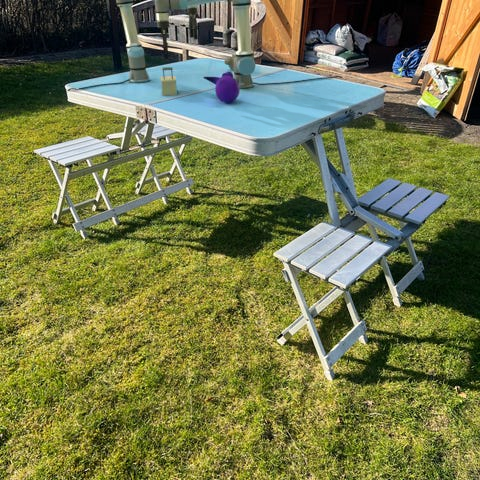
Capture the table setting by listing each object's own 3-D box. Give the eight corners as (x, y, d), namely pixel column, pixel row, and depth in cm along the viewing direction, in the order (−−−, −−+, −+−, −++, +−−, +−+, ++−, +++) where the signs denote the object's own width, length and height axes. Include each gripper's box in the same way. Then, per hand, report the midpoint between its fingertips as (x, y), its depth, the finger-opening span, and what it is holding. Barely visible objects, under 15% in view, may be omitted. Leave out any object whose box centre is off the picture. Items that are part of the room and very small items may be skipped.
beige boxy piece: (175, 81, 292) (174, 67, 288) (161, 81, 291) (159, 68, 287) (175, 77, 304) (174, 64, 300) (161, 77, 303) (159, 65, 298)
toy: (226, 94, 295) (239, 108, 274) (200, 89, 287) (212, 104, 267) (231, 69, 287) (246, 82, 266) (206, 64, 279) (218, 77, 259)
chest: (177, 94, 297) (175, 81, 293) (162, 95, 296) (161, 81, 292) (176, 90, 308) (175, 77, 304) (162, 91, 307) (161, 77, 303)
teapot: (228, 72, 362) (227, 52, 355) (221, 70, 371) (220, 50, 364) (250, 69, 372) (250, 50, 364) (243, 67, 380) (243, 48, 373)
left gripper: (200, 8, 326) (202, 39, 337) (193, 6, 347) (194, 36, 358) (190, 8, 324) (192, 40, 335) (183, 6, 345) (185, 36, 356)
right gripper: (169, 22, 266) (172, 60, 277) (168, 19, 287) (171, 54, 298) (156, 22, 265) (160, 60, 276) (156, 19, 286) (160, 54, 297)
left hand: (193, 38), depth 346 cm, fingers open, 13 cm apart
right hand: (166, 57), depth 287 cm, fingers open, 13 cm apart
